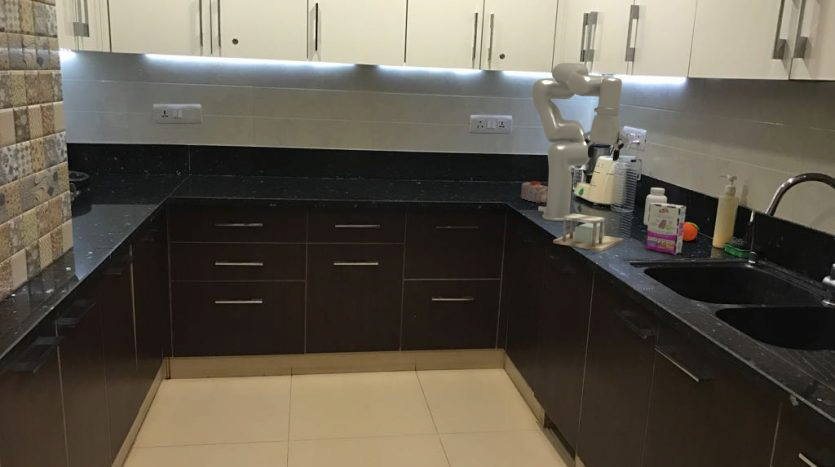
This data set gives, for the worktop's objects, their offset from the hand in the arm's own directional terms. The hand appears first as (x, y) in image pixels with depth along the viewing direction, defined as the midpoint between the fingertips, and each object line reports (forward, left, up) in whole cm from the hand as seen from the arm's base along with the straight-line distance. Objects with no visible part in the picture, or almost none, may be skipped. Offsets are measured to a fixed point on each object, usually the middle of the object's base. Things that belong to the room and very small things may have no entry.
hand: (602, 158), depth 260 cm
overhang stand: (+3, -15, -28) cm, 32 cm away
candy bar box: (+28, -10, -29) cm, 42 cm away
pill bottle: (+11, +32, -29) cm, 44 cm away
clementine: (+30, +12, -29) cm, 43 cm away
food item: (-50, +45, -29) cm, 73 cm away
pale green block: (+3, -15, -27) cm, 31 cm away
